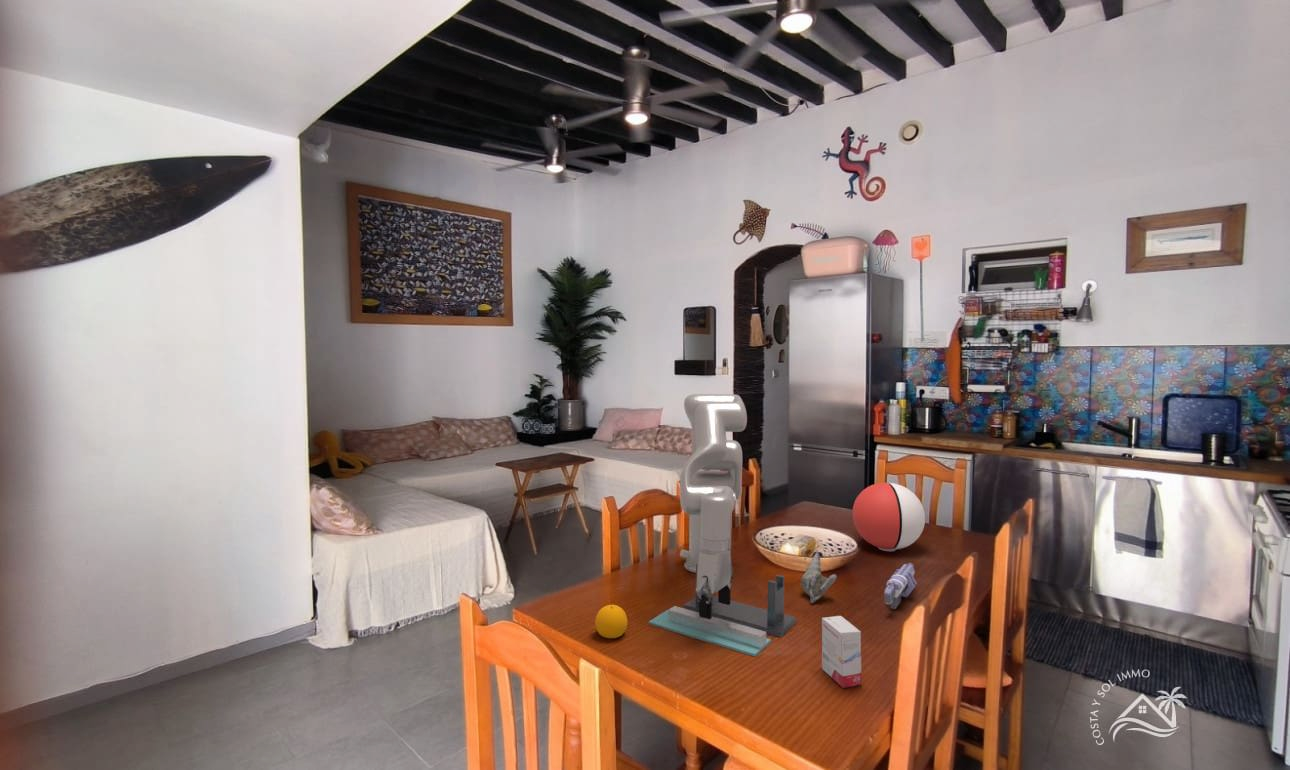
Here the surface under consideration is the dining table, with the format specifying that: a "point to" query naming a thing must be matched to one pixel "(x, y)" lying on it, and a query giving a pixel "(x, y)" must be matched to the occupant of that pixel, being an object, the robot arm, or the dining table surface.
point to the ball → (888, 516)
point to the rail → (718, 627)
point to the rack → (753, 610)
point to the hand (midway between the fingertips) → (715, 610)
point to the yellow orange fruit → (611, 621)
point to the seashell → (816, 580)
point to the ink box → (841, 651)
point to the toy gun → (900, 585)
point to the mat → (705, 635)
